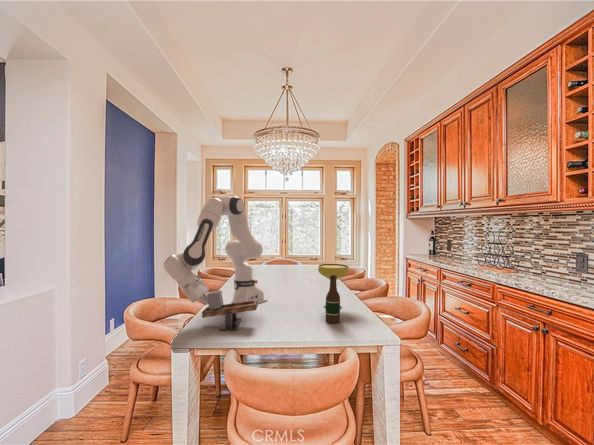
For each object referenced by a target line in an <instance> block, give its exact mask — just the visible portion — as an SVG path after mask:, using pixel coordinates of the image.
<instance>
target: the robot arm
mask: <svg viewBox="0 0 594 445" xmlns="http://www.w3.org/2000/svg"><path fill="white" fill-rule="evenodd" d="M244 207H245V204H244V201H243V199H242V198H241V197H239V196H235V195H234V196H232V195H231V196H229V195H226V196H214V197H210V198H209V199H207V201H206V202H205V204H204V205H203V206H202V209H201V211H200V213H199V215H198V219H197V223H196V224H197V228H198V229H197V231H196V232H195V236H194V238H193V240H192V242H191V243H189V245H188V246H186V247H185V249H184V251H183V252H182V253H178V254H177V253H176V254H171V255H169V256H168V257H167V258H166V260H165V261H164V262H163V269H164V271H165V272H166V273H167V274H168V276H169V277H170V278H171V279H172V280H174V281H175V282H176V283H177V285H178V287H180V288H181V290H182V291H183V293H184V295H185V296H186V297H187V299H188V300H189V301H190V302H191V303H193V304H194V303H196V302H197V301H200V302H202V303H203V304H205V306H208V299H207V294H208V293H209V292H210V289H209V287H208V286H207V284H206V283H205V282H204V281H203V280H202V279H201V276H200V275H197V274H195V273H194V272H193V271H195V270H196V269H198V268H199V267H200V266H201V265H202V262H204V260H205V258H206V244H207V242H208V239H209V237H210V234H211V233H212V232H214V231H215V230H216V229H217V227H218V225H219V223H220V221H221V219H222V216H227V219H228V220H227V221H228V224H229V228H230V229H229V230H230V233H231V235H232V236H233V237H235V239H234V240H231V241H228V242H227V243H226V244H225V249H224V250H225V253H226V255H227V256H228V257H229V258H230V259H231V261H232V264H233V266H234V267H233V268H234V279H233V288H234V290H233V291H234V292H233V296H232V301H231V304H232V303H239V302H246V301H252V300H257V301H258V304H261V303H265V302H267V301H268V298H267V297H266V296H265V293H264V291H263V290H262V289H261V288H260V287H258V286H257V285H256V284H258V281H259V280H257V279H253V271H254V270H253V267H252V265H251V264H250V263H248V260H247V259H257V258H258V259H259V258H260V257H261V256H262V254H263V251H264V248H263V245H262V243H261V242H259V241H257V239H256V238H255V237H254V236H253V234H252V232H251V231H250V227H249V223H248V219H247V214H246V211H245V209H244Z"/></svg>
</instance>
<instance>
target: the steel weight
mask: <svg viewBox="0 0 594 445" xmlns="http://www.w3.org/2000/svg"><path fill="white" fill-rule="evenodd" d="M206 296H207V299H208V304H207V306H208V307H209V311H210V310H217V309H223V308H224V305H225V304H224V299H223V292H222V290H217V291H216V290H215V291H208V292H207V293H206Z"/></svg>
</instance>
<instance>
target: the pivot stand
mask: <svg viewBox="0 0 594 445" xmlns="http://www.w3.org/2000/svg"><path fill="white" fill-rule="evenodd" d="M237 314H238V313H233V314H232V312H226V313H225V315H224V320H223V322H222V324H221V326H220V327H219V329H218V330H219V331H218V332H237V330H238V329H239V327H240V324H241V322H242V319H243V318H242V317H237V316H238V315H237Z"/></svg>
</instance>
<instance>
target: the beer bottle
mask: <svg viewBox="0 0 594 445" xmlns="http://www.w3.org/2000/svg"><path fill="white" fill-rule="evenodd" d="M336 278H337V276H336V275H331V276H330V279H329V288H328V292H327V293H326V296H325V305H326V308H325V322H326V323H328V324H339V323H340V320H341V309H340V306H341V296H340V293H339V291H338V287H337V280H336Z"/></svg>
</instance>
